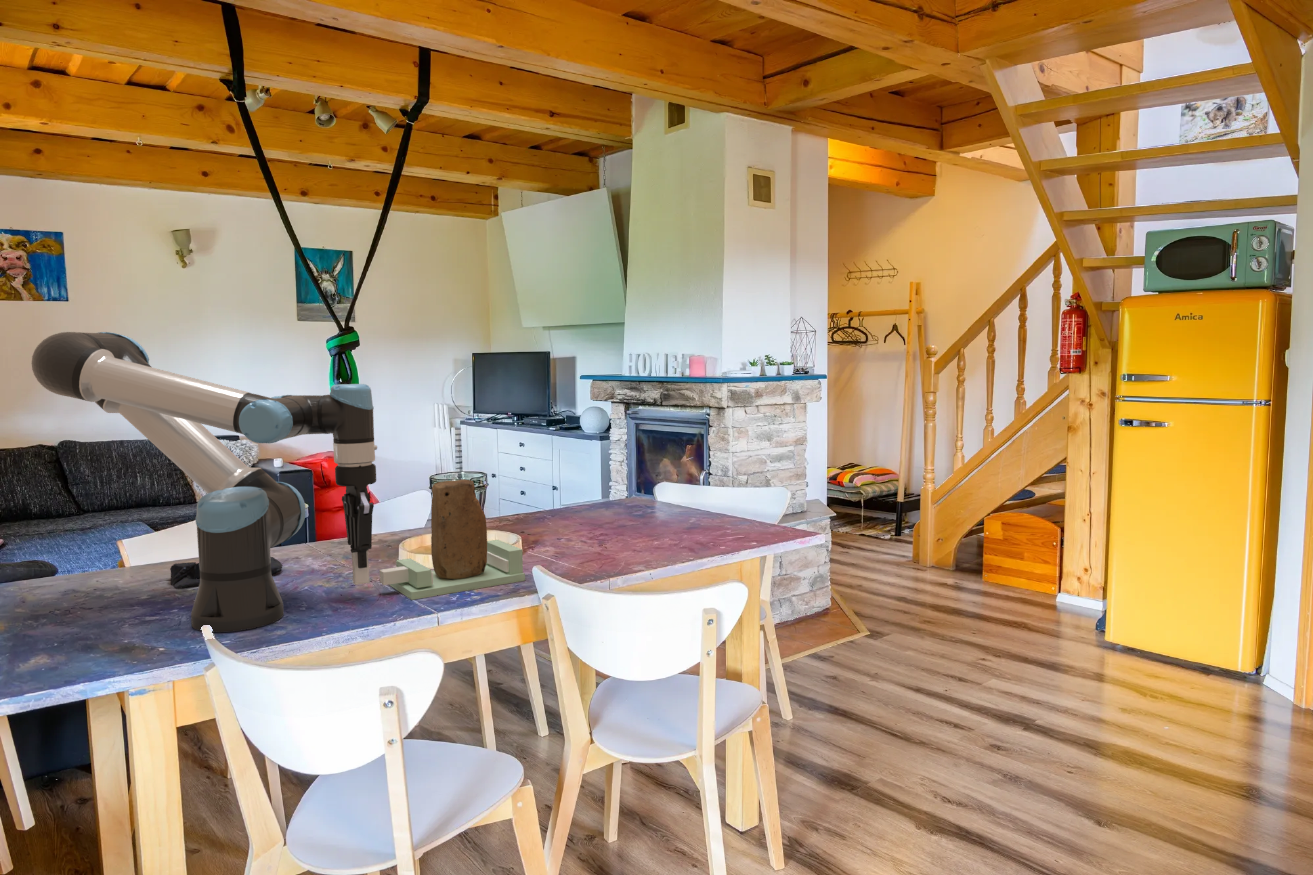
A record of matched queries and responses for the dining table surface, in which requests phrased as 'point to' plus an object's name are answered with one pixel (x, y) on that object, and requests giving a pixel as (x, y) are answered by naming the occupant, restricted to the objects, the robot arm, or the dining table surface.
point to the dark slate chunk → (190, 573)
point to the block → (457, 530)
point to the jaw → (407, 574)
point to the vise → (498, 571)
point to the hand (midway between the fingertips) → (361, 582)
